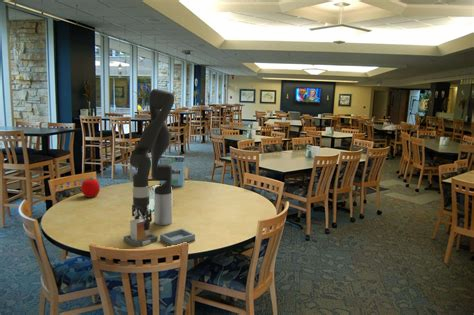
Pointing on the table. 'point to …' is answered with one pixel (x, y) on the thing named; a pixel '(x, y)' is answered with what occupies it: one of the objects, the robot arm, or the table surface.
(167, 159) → the gum box
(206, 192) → the table surface
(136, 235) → the small box
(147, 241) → the clip holder
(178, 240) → the tray
